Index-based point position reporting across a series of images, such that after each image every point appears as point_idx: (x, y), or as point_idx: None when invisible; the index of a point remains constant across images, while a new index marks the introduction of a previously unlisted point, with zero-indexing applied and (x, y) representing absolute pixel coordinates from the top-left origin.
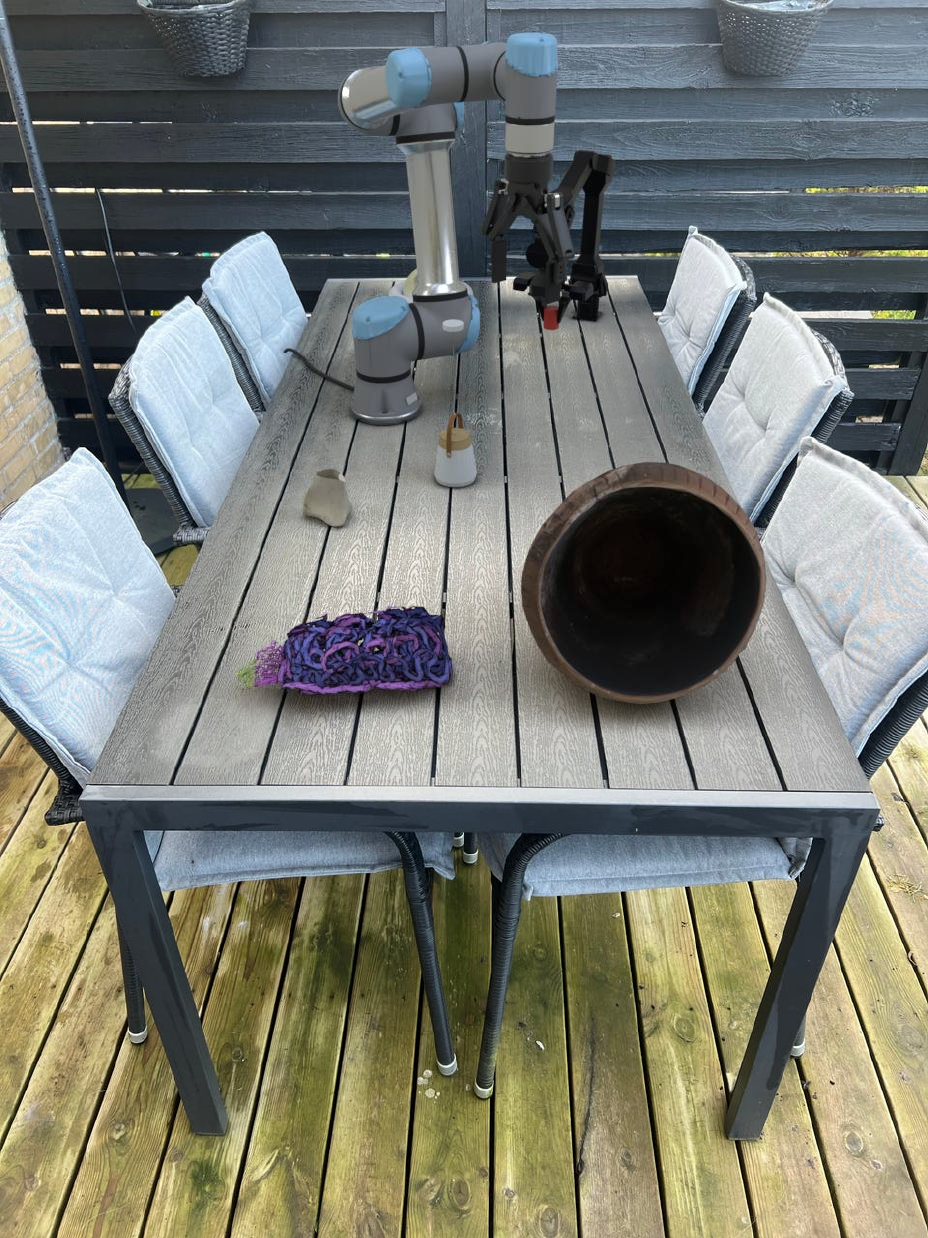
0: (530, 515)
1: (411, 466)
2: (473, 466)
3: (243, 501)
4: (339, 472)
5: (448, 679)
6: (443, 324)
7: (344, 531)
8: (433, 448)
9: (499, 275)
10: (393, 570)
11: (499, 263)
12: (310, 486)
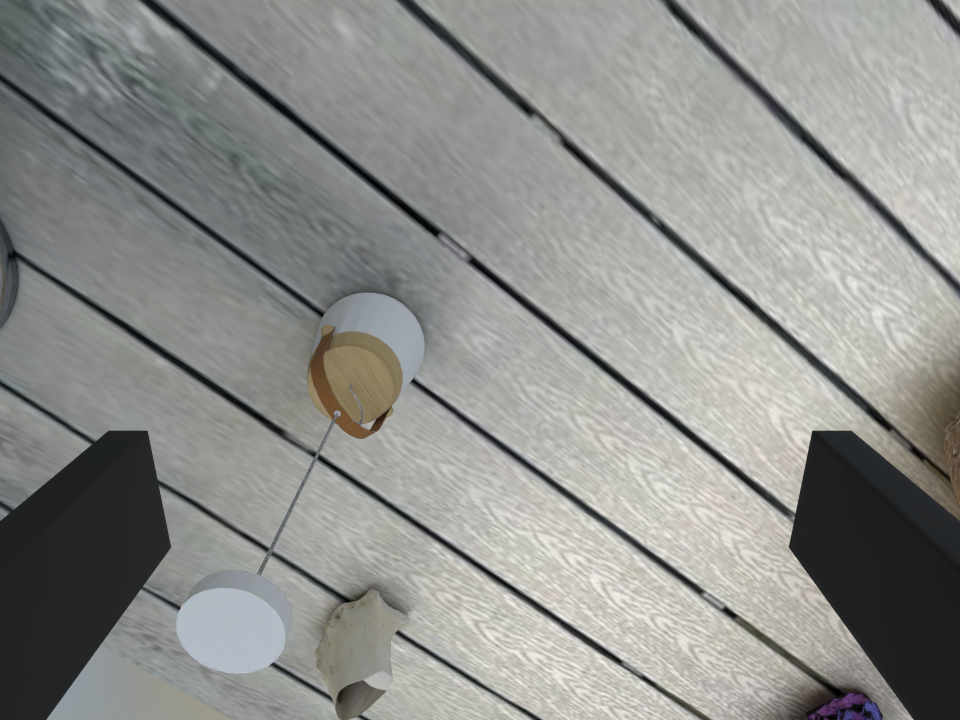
0: (624, 313)
1: (259, 385)
2: (410, 331)
3: (210, 691)
4: (359, 679)
5: (869, 701)
6: (222, 670)
7: (420, 617)
8: (201, 288)
9: (133, 530)
10: (587, 618)
11: (71, 611)
12: (340, 702)
